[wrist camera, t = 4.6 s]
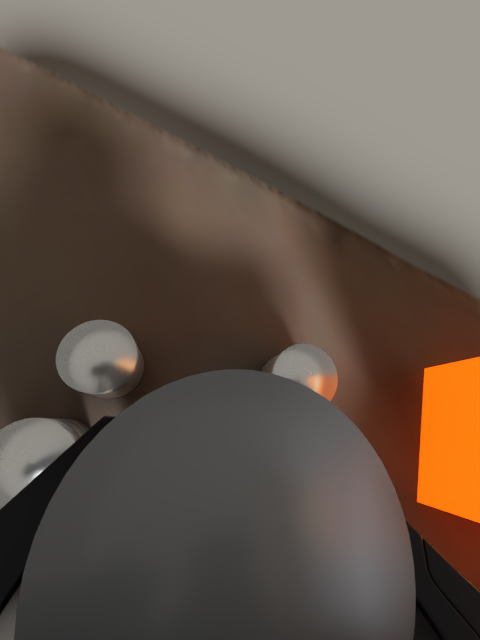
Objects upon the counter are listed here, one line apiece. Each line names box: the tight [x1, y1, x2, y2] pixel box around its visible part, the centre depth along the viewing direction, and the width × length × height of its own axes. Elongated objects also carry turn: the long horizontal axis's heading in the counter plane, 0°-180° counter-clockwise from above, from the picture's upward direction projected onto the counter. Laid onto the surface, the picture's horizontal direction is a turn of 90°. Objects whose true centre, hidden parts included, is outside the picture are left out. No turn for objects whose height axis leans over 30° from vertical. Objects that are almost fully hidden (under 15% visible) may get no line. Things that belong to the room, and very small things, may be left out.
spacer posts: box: [0, 320, 338, 509], centre depth 12 cm, size 12×15×3 cm
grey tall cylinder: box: [14, 369, 416, 640], centre depth 9 cm, size 5×5×11 cm
